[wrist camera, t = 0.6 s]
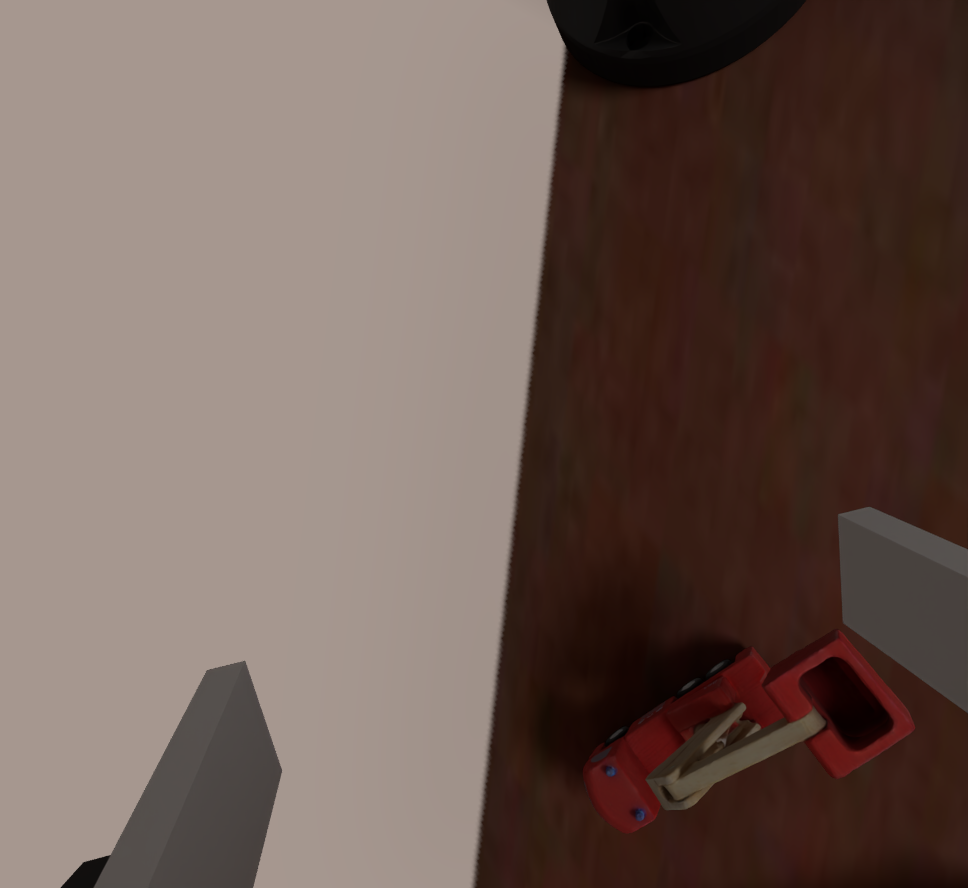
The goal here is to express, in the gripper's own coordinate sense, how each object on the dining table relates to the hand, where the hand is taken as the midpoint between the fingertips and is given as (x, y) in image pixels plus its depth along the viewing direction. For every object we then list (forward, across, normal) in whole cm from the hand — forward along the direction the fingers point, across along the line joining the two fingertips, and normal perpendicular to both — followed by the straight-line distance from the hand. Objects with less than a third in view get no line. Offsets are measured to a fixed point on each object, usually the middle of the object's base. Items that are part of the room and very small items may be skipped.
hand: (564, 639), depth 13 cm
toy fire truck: (+12, +9, -14) cm, 21 cm away
